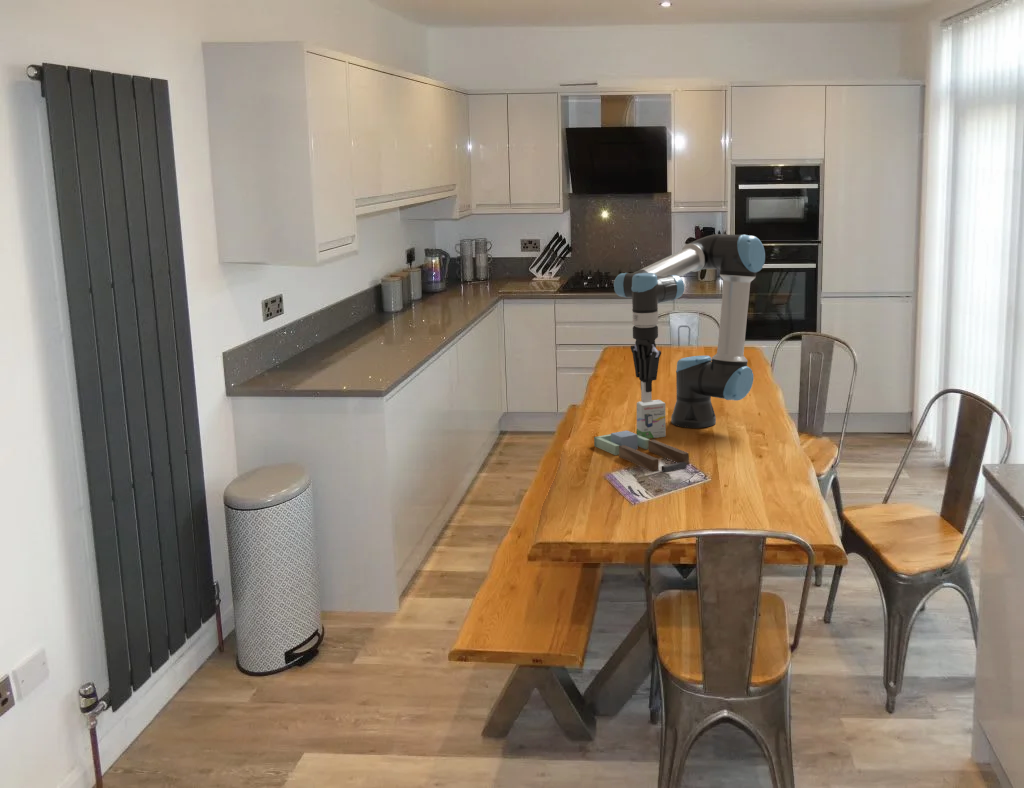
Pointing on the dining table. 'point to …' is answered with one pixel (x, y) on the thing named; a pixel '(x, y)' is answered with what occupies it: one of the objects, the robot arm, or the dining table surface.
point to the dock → (613, 448)
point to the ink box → (651, 419)
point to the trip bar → (674, 466)
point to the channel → (655, 448)
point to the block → (625, 439)
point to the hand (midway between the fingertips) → (646, 401)
